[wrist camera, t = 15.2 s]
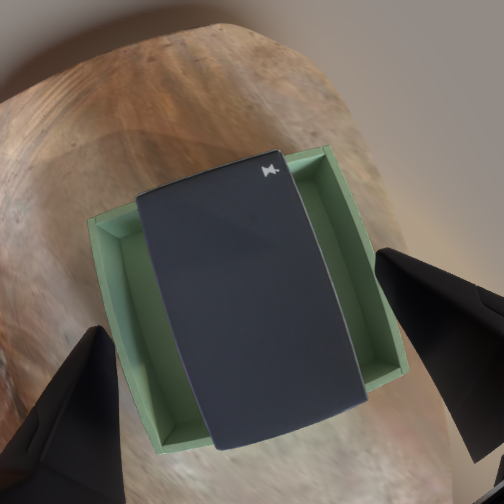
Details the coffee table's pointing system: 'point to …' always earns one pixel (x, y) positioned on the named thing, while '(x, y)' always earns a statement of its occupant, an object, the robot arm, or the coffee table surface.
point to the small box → (250, 300)
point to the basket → (158, 328)
